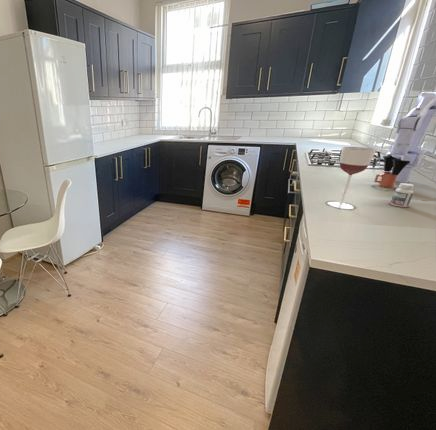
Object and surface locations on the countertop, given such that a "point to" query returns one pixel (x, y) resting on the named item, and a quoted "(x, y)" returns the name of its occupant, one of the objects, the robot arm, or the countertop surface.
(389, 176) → the mug
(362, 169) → the wineglass
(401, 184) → the pill bottle
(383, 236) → the countertop surface
